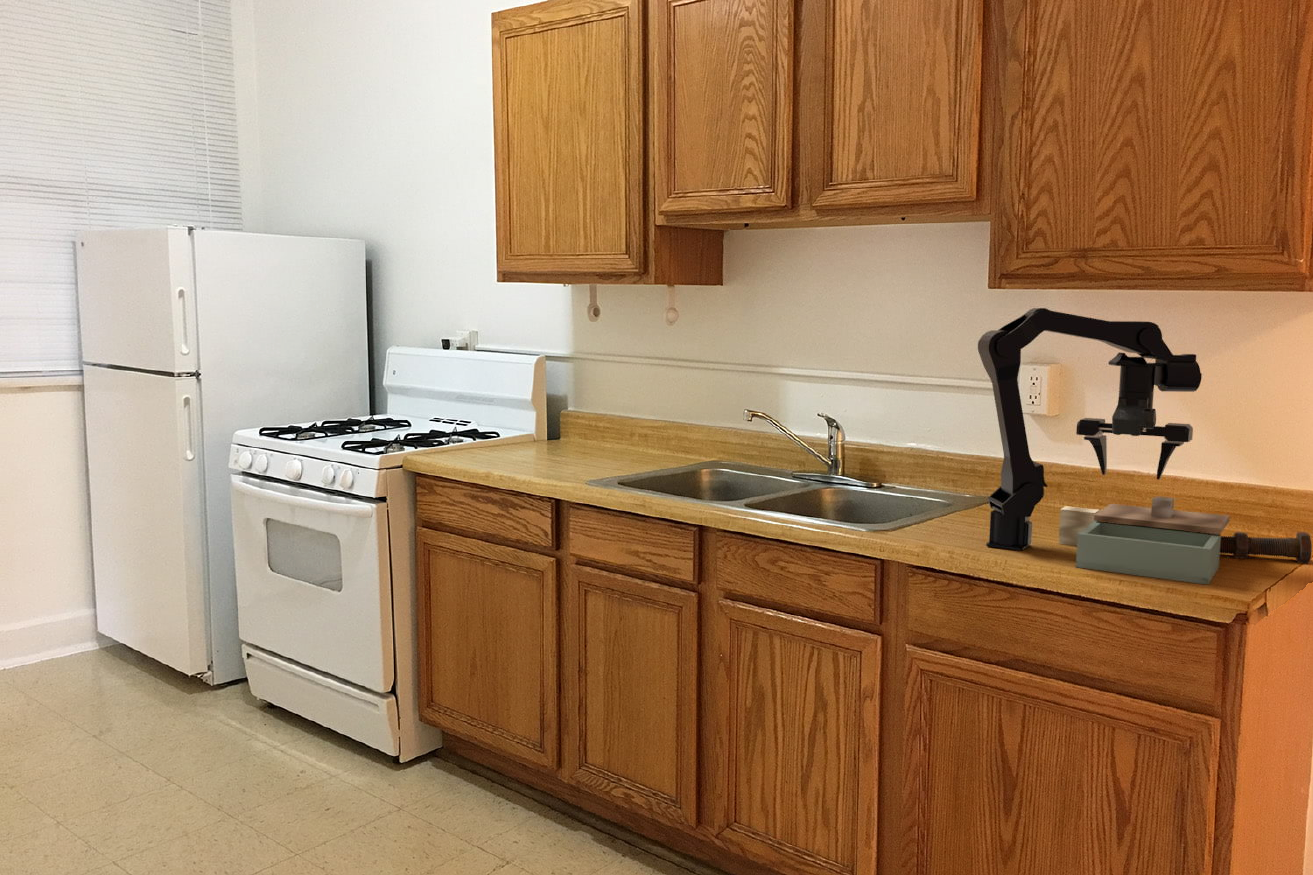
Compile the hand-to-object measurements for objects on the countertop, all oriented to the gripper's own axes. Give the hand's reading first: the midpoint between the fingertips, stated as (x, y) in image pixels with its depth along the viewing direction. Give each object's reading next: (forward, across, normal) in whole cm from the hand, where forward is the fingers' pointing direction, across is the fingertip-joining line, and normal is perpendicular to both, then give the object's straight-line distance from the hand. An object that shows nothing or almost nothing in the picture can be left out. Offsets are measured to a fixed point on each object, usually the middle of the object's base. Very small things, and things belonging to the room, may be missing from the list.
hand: (1130, 477), depth 197 cm
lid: (+7, +6, -3) cm, 10 cm away
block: (+13, -8, -2) cm, 15 cm away
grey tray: (+13, +6, -12) cm, 19 cm away
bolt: (+14, +21, +5) cm, 25 cm away
